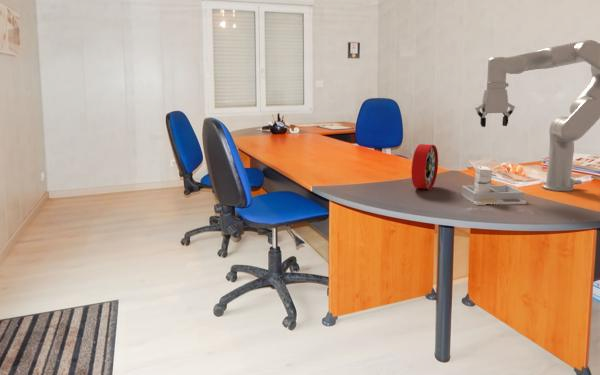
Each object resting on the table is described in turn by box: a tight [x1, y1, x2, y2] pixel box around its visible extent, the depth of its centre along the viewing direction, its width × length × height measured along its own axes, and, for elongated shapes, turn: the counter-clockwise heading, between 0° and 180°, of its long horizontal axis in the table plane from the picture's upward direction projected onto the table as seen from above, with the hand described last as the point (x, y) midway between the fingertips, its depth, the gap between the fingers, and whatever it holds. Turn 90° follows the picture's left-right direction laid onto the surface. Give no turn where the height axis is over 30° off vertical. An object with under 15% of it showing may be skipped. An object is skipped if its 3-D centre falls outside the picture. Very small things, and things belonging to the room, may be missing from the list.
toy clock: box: [410, 143, 439, 190], centre depth 222 cm, size 20×6×20 cm, turn 149°
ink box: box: [473, 165, 493, 193], centre depth 203 cm, size 9×5×12 cm, turn 173°
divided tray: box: [461, 184, 527, 206], centre depth 203 cm, size 20×17×4 cm
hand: (494, 126), depth 218 cm, fingers open, 9 cm apart
